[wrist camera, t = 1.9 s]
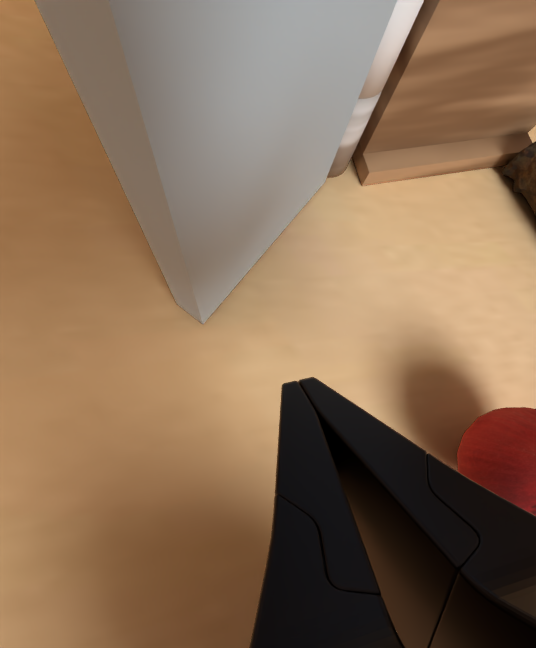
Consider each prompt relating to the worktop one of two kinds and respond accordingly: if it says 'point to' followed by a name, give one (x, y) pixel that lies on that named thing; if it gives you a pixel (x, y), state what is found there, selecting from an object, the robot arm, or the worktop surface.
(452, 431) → the worktop surface
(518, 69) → the hinge frame
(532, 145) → the hand tool
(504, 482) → the onion
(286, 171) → the hinged leaf
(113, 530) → the worktop surface
